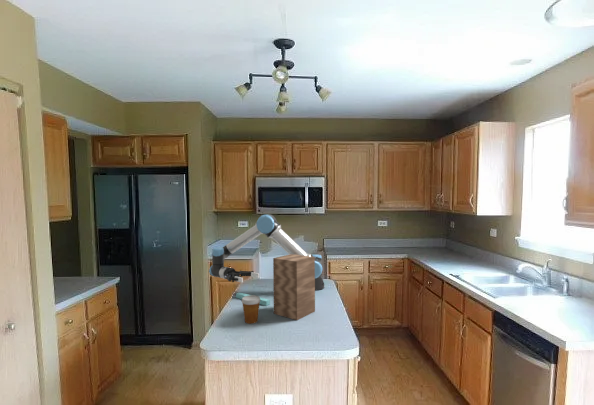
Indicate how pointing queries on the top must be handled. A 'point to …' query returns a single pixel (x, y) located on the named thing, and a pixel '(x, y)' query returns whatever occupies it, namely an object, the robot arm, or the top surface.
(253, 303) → the disposable coffee cup
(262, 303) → the bar
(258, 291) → the top surface
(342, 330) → the top surface
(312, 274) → the stand
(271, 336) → the top surface
